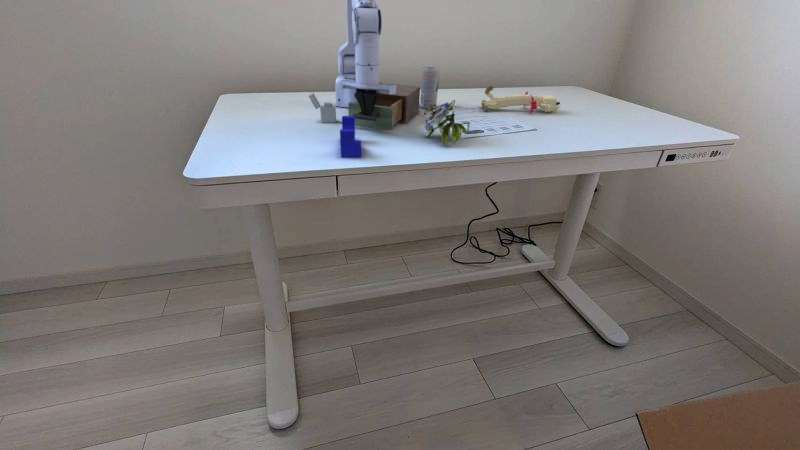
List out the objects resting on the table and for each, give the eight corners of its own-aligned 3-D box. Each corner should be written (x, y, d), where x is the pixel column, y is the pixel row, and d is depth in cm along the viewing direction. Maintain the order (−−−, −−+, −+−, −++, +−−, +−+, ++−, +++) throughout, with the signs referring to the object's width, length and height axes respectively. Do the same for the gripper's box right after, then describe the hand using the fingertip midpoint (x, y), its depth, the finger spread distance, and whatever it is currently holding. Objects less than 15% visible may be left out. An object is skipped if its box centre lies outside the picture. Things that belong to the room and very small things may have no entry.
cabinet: (405, 123, 112) (406, 96, 108) (361, 117, 116) (361, 91, 112) (418, 111, 123) (420, 86, 119) (378, 106, 127) (378, 82, 123)
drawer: (385, 135, 100) (386, 112, 97) (341, 129, 103) (340, 106, 100) (406, 118, 114) (406, 97, 111) (366, 113, 117) (366, 93, 114)
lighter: (336, 120, 112) (334, 92, 108) (336, 122, 111) (334, 93, 106) (310, 120, 111) (308, 91, 107) (310, 122, 110) (307, 93, 105)
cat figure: (485, 117, 125) (564, 113, 124) (487, 89, 120) (569, 85, 120) (479, 109, 133) (553, 105, 133) (481, 82, 129) (557, 78, 128)
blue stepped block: (361, 157, 89) (360, 131, 86) (341, 157, 88) (339, 131, 85) (361, 139, 99) (360, 116, 96) (343, 139, 99) (342, 115, 95)
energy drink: (436, 105, 131) (439, 67, 125) (436, 109, 126) (439, 70, 120) (420, 104, 131) (422, 66, 125) (419, 108, 127) (421, 69, 120)
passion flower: (427, 156, 105) (419, 113, 106) (467, 149, 105) (458, 106, 106) (431, 146, 94) (421, 98, 94) (475, 137, 94) (465, 89, 95)
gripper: (332, 63, 94) (335, 120, 101) (389, 69, 90) (388, 127, 97) (345, 60, 99) (347, 113, 106) (399, 64, 96) (397, 120, 103)
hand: (367, 119), depth 102 cm, fingers closed, pressing on drawer
